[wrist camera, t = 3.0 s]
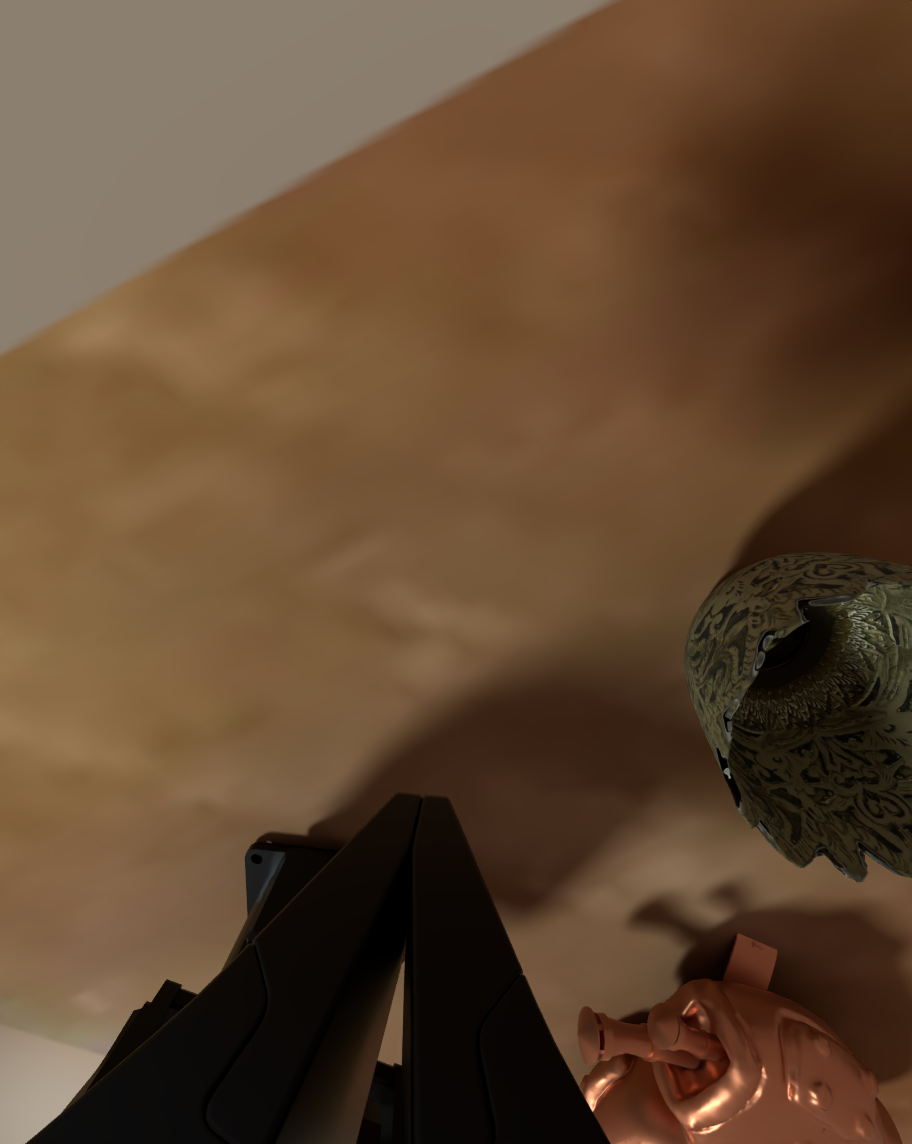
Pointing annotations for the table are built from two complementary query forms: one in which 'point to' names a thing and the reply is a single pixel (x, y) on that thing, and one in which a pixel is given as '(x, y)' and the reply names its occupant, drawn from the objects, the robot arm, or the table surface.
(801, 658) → the cup
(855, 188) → the table surface
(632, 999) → the table surface
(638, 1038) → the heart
